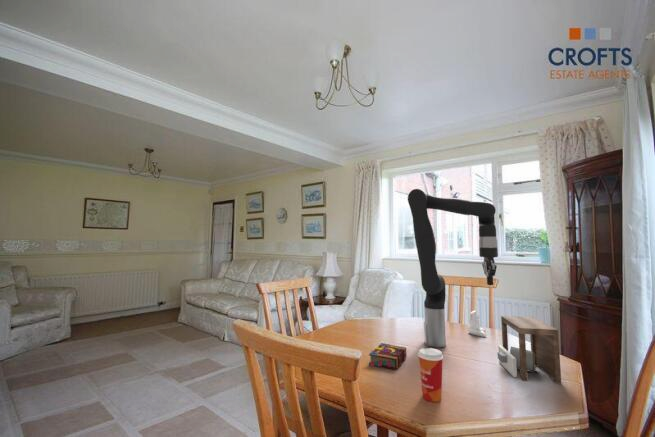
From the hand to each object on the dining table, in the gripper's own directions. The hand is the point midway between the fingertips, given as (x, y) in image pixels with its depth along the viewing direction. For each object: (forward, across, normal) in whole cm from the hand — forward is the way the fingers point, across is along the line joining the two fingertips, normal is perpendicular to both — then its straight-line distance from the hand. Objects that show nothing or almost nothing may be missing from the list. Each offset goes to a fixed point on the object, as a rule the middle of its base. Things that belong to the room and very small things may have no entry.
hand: (490, 284), depth 137 cm
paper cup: (+29, +48, -33) cm, 65 cm away
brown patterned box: (+29, +21, -46) cm, 59 cm away
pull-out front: (+29, +21, -2) cm, 36 cm away
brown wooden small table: (+29, +21, +6) cm, 36 cm away
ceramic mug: (+29, +18, +5) cm, 35 cm away
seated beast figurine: (+29, -25, 0) cm, 39 cm away
